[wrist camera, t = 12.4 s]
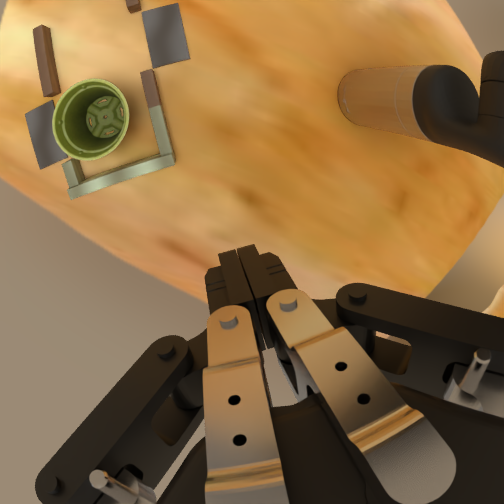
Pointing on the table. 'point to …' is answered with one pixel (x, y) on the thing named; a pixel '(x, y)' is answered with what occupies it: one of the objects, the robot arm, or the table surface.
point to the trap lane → (162, 53)
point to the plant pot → (84, 107)
